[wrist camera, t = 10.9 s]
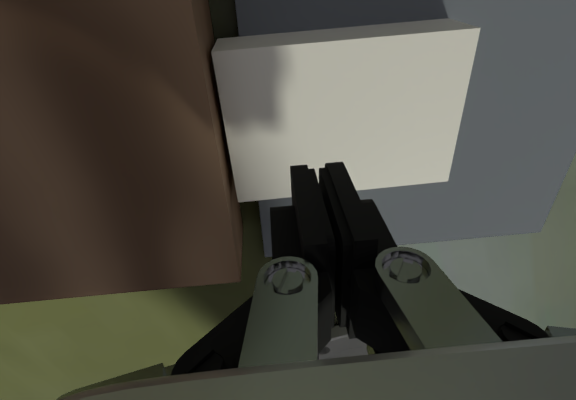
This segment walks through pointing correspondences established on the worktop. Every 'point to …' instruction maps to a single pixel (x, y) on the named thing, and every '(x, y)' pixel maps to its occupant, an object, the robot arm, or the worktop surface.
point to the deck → (112, 150)
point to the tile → (344, 103)
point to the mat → (469, 113)
